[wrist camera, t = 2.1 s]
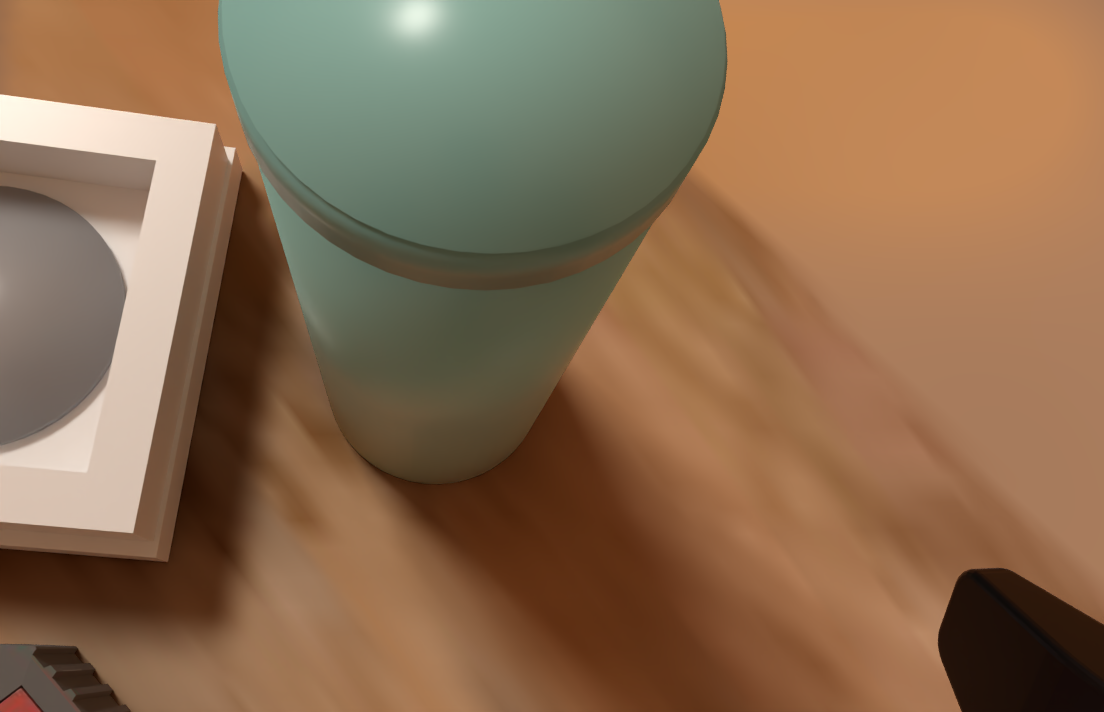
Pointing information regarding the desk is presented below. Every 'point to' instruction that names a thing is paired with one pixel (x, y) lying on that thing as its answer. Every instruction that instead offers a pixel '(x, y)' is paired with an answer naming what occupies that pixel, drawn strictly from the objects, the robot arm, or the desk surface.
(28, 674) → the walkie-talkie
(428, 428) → the green banded cylinder
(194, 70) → the desk surface
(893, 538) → the desk surface
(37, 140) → the housing
